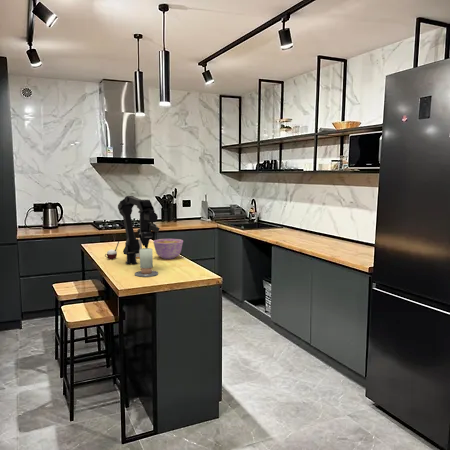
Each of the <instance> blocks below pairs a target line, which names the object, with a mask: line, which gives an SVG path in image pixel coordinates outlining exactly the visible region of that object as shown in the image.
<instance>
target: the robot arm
mask: <svg viewBox="0 0 450 450" xmlns="http://www.w3.org/2000/svg"><path fill="white" fill-rule="evenodd" d="M134 206H136V208H137V209H138V213H139V222H138V223H139V224H138V225H139V228H138V229H137V235H138V238H140V240H141V242H142V247H143V246H144V248H148V247H149V245H150V244H149V242H150V240H151V239H152V238H153V237H154V233H153V232H155V233H157V234H158V233H159V231H160V230H161V229H160V227H159V226H157V224H155V222H157V221H158V218H159V217H158V214H157V213H156V212H155V208H154V206H153V204H152V201H151V200H150V199H141V198H139V197H136V196H134V195H126V196H125V197H124V198H123V199H121V200H120V201H119V203H118V204H117V209H118V212H119V214H120V215H121V216H122V218H123V224H124V230H125V236H126V241H125V244H124V245H125V246H124V248H123V249H122V250H123V251H122V253H123V255H125V256H126V261H125V264H126V265H137V264H138V262H137V258H136V254H137V253H139V250H140V245H139V240H138V239H136V238H137V237H135V236H136V235H135V231H134V227H133V220H132V214H133V213H132V212H133V208H134ZM151 223H153V224H151Z"/></svg>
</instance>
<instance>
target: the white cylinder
mask: <svg viewBox="0 0 450 450" xmlns="http://www.w3.org/2000/svg"><path fill="white" fill-rule="evenodd" d="M153 254H154V253H153V248H150V247H149V248H145V247H142V249H140V258H139V267H140V269H141V268H151V267H152V268H153V265H154V264H153V262H154V261H153V260H154V259H153Z"/></svg>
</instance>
